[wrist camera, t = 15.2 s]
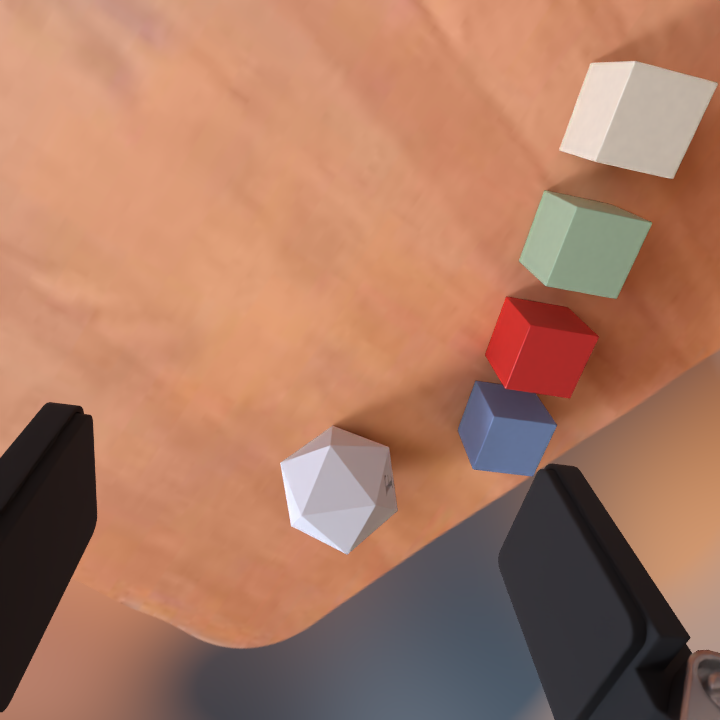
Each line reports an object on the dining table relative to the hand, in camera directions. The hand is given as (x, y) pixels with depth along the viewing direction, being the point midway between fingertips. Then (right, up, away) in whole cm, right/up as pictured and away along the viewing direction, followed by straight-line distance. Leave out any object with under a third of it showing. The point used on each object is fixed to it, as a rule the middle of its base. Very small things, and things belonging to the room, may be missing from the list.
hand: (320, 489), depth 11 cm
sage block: (+15, +12, +25) cm, 31 cm away
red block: (+14, +5, +29) cm, 32 cm away
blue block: (+12, -1, +32) cm, 34 cm away
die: (-1, -5, +33) cm, 34 cm away
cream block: (+17, +18, +22) cm, 33 cm away
